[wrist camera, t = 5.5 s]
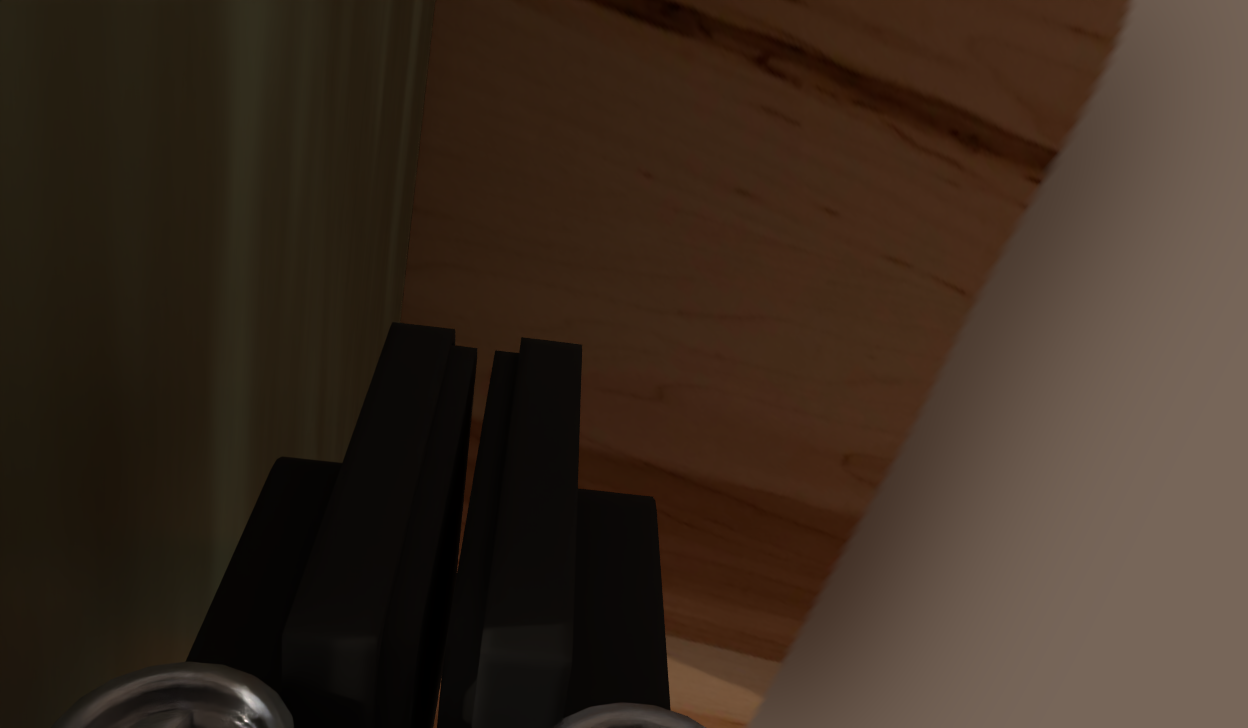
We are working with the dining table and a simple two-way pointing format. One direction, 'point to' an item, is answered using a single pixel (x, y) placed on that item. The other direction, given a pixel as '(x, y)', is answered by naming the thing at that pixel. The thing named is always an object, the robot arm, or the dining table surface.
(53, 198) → the cupboard door
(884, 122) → the dining table surface
